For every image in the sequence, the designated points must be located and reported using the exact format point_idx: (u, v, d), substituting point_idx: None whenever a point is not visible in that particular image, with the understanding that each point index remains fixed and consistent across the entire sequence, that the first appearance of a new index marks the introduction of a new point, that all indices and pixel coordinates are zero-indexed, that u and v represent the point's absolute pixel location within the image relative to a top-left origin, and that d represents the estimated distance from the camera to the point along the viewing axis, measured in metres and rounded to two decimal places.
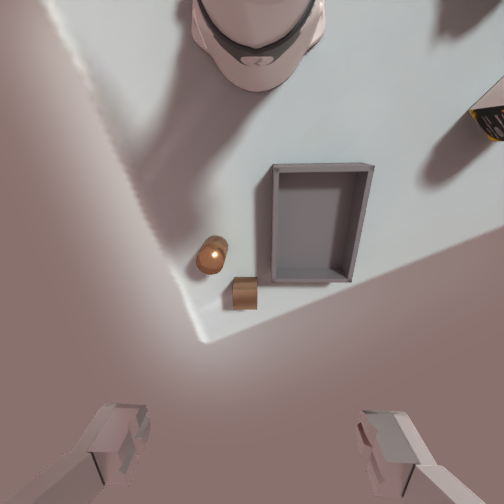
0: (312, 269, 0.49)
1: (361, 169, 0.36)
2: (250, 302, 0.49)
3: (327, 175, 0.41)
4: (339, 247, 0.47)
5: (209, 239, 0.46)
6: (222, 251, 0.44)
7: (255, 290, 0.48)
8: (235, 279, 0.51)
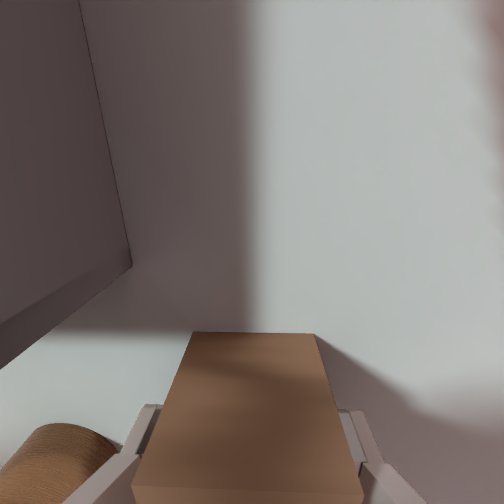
0: None
1: None
2: None
3: None
4: None
5: None
6: None
7: (141, 487, 0.05)
8: None
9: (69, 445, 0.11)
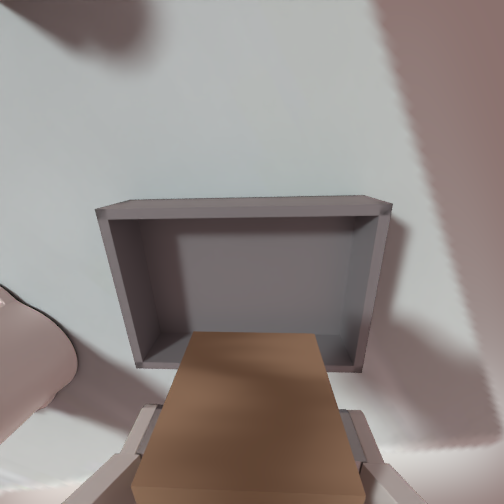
0: (350, 271, 0.22)
1: (107, 233, 0.18)
2: None
3: (157, 260, 0.23)
4: (301, 218, 0.21)
5: None
6: None
7: (141, 488, 0.05)
8: None
9: None
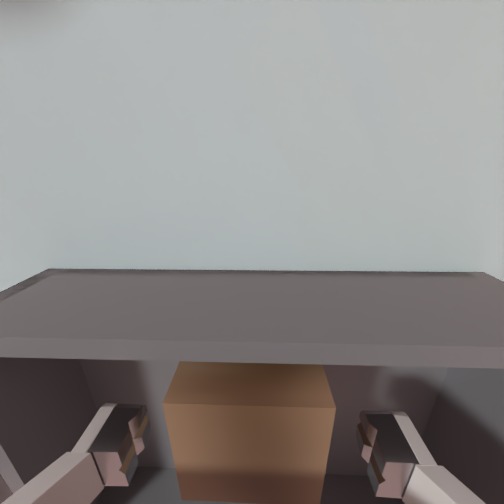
0: (447, 401, 0.12)
1: None
2: (267, 437, 0.07)
3: (102, 370, 0.13)
4: None
5: None
6: None
7: (169, 406, 0.07)
8: None
9: None
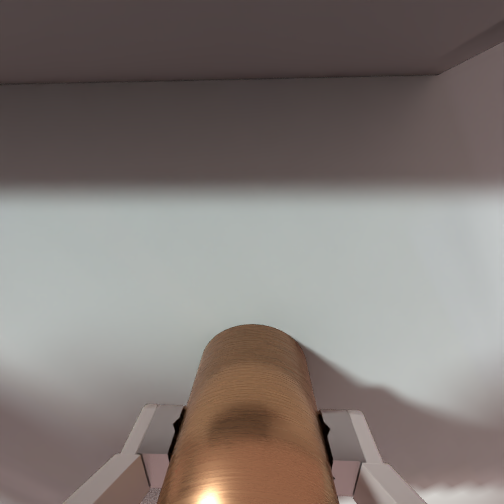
0: None
1: None
2: None
3: None
4: None
5: None
6: (197, 455, 0.06)
7: None
8: None
9: (277, 343, 0.09)
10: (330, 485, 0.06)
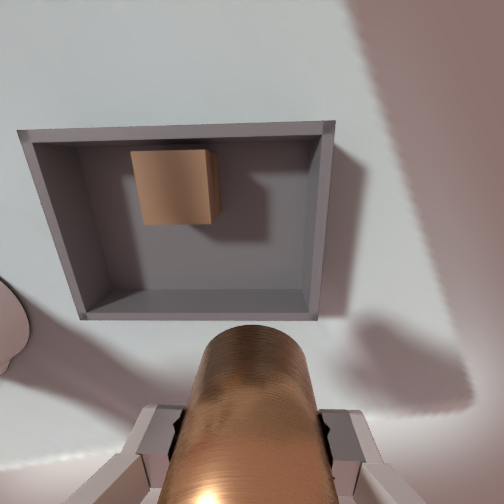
0: (306, 215, 0.21)
1: (33, 160, 0.17)
2: (178, 171, 0.16)
3: (103, 206, 0.22)
4: (252, 155, 0.20)
5: None
6: (198, 456, 0.06)
7: (133, 155, 0.16)
8: None
9: (278, 343, 0.09)
10: (330, 486, 0.06)
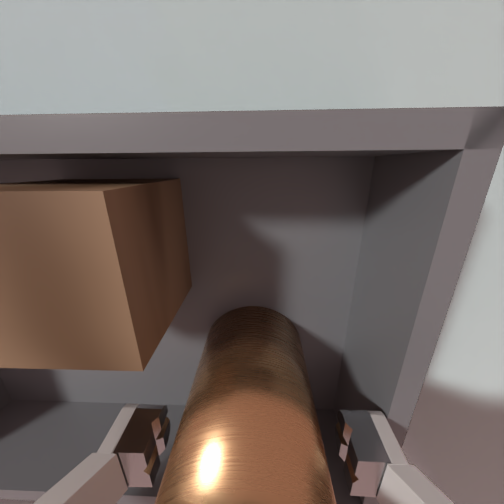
0: (357, 300, 0.11)
1: None
2: (36, 250, 0.05)
3: None
4: (251, 184, 0.10)
5: None
6: (207, 402, 0.07)
7: None
8: None
9: (274, 321, 0.11)
10: (315, 427, 0.07)
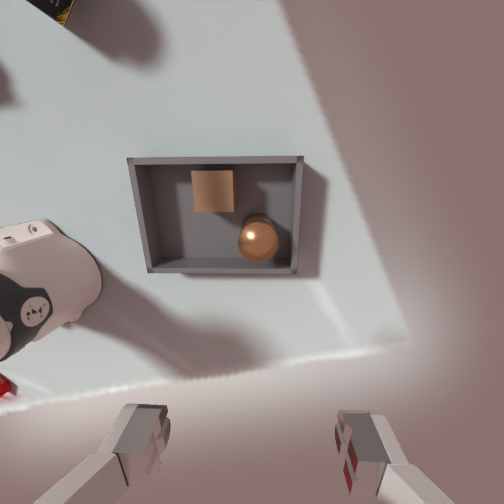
0: (290, 208, 0.34)
1: (133, 174, 0.29)
2: (217, 182, 0.28)
3: (162, 201, 0.34)
4: (257, 171, 0.33)
5: None
6: (247, 223, 0.30)
7: (192, 173, 0.28)
8: None
9: (264, 215, 0.34)
10: (274, 228, 0.30)
